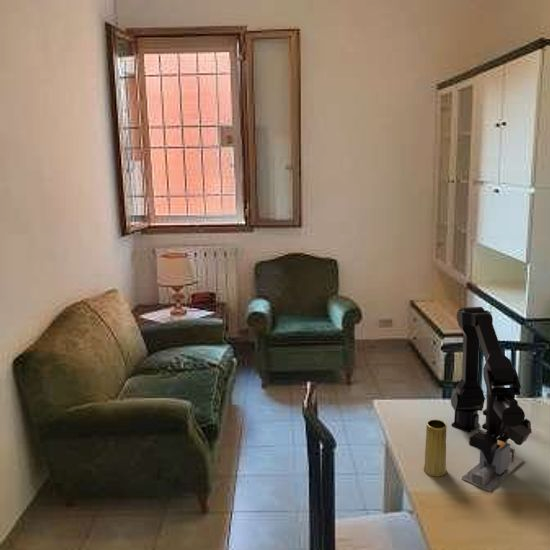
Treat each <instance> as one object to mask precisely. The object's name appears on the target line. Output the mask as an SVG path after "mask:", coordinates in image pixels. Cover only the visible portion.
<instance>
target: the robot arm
mask: <svg viewBox="0 0 550 550" xmlns="http://www.w3.org/2000/svg"><path fill="white" fill-rule="evenodd" d="M456 320H457V325H458V328H460V331H461V332H462V334H463V336H462V340H463V341H462V360H461V361H462V364H461V365H462V366H461V379H460V380H459V381H458V383H457V384H456V386H455V392H454V393H453V395H452V396H451V398H450V406H451V407H452V408H453V410H454V417H453V418H454V419H453V420H454V421H453V422H452V423H451V426H452V427H455V428H457V429H460V430H462V431H465V432H468V433H471V432H472V431H474V430H475V429H477V428H478V427H480V423H479V421H480V414H479V411H482V415H483V416H485V422H484V423H483V424H482V425H481V428H482V429H483V430H485V432H482V431H477V432H475V433H474V434H473V435H471V436H470V437H469V439H468V445H469V446H470V447H472V448H475V449H477V450H479V451H480V450H482V452H483V454H484V457H485V459H486V461H487V463H488V464H492V462H493V458H494V453H495V450H497V449H498V448H499V447H500V445H498V444H497V443H498V440H501V441H503V442H506V443H508V440H511V441H512V442H513V443H514V444H515V445H517V446H522V444H523V443H525V442H527V439H528V438H529V436H530V435H531V434H532V428H531V427H532V422H531V421H530V420H529V419H528V418H525V417H526V413H525V411H524V410H523V408H522V406H520V405H519V402H518V400H517V399H516V398H515V396H520V395H521V389H522V386H521V382H520V378H519V375H518V372H517V370H516V368H515V367H514V365H513V363H512V360H511V359H510V358H509V357H508V356H507V355H505V354H504V353H503V349H502V348H501V345H500V342H499V340H498V337H497V333H496V330H495V327H494V325H493V323H494V321H493V315H492V313H491V311H489V310H485V309H484V308H483V306H470V307H469V306H468V307H466V306H465V307H464V306H463V307H460V308H459V309H458V311H457V312H456ZM480 347H481V351H482V353H483V357H484V360H485V361H484V362H485V364H484V365H483V368H482V370H483V371H482V374H483V375H482V376H483V381H484V384H485V386H486V390H487V391H486V396H485V395H484V390H483V388H482V387H481V385H480V383H479V361H480V358H479V357H480ZM505 386H506V387H505ZM509 386H510V387H509ZM511 386H512V387H511ZM485 399H486V400H485ZM485 401H486V405H485ZM484 405H485V406H486V409H484V410H483V408H484Z"/></svg>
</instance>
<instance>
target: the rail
mask: <svg viewBox="0 0 550 550" xmlns="http://www.w3.org/2000/svg"><path fill="white" fill-rule="evenodd" d="M515 451H516V450H515V448H513V447H510V457H509V467H508V468H507V469H506V470H505V471H504V472H502V473H501V474H498V473H496V465H494V464H487V465H486V466H485V467H484V468H483V467H481V466H479V463H477V465H475V466H473V468H472V469H470V470H469V471H468V472H467V473H465V474H464V475H463V476H461V480H463V481H465V482H468V483H470V484H471V485H474V486H476V487H478V488H481V489H483V490H485V491H487V492H489V493H490V492H491V491H493V490H494V489H495V488H497V486H498V485H499V484H501V483H502V482H503V481H504V480H505V479H506V478H507V477H509V475H510V474H511V473H513V472H514V471H515V470H516V469H517V468H518V467H520V465H522V464H523V463H524V462H525V459H524V458H522V457H520V456H517V455H515V453H516V452H515Z"/></svg>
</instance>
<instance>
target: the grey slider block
mask: <svg viewBox="0 0 550 550" xmlns="http://www.w3.org/2000/svg"><path fill="white" fill-rule="evenodd" d="M497 444H498V445H500V447H499V448H498V449H497V450H495V453H494V458H493V462H492V464H494V465H496V473H498V474H501V473H502V472H504V471H505V470H506V469H507V468H508V467H509V457H510V448H511V444H510V443H509V442H507V443H506V442H503V441H501V440H498V443H497ZM478 464H479V466H481V467H483V468H484V467H485V466H486V465H487V464H488V463H487V461H486V459H485V457H484V454H483V452H482V450H480V449H479V463H478Z"/></svg>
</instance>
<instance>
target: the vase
mask: <svg viewBox="0 0 550 550" xmlns="http://www.w3.org/2000/svg"><path fill="white" fill-rule="evenodd" d="M425 433H426V435H425V446H424V447H425V448H424V465H423V471H424V472H425V474H427V475H429V476H432V477H442V476H445V475H446V473H447V465H446V464H447V463H446V462H447V459H446V458H447V423H446V422H445V421H444V420H441V419H429V420H428V421H427V422H426V431H425Z"/></svg>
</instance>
